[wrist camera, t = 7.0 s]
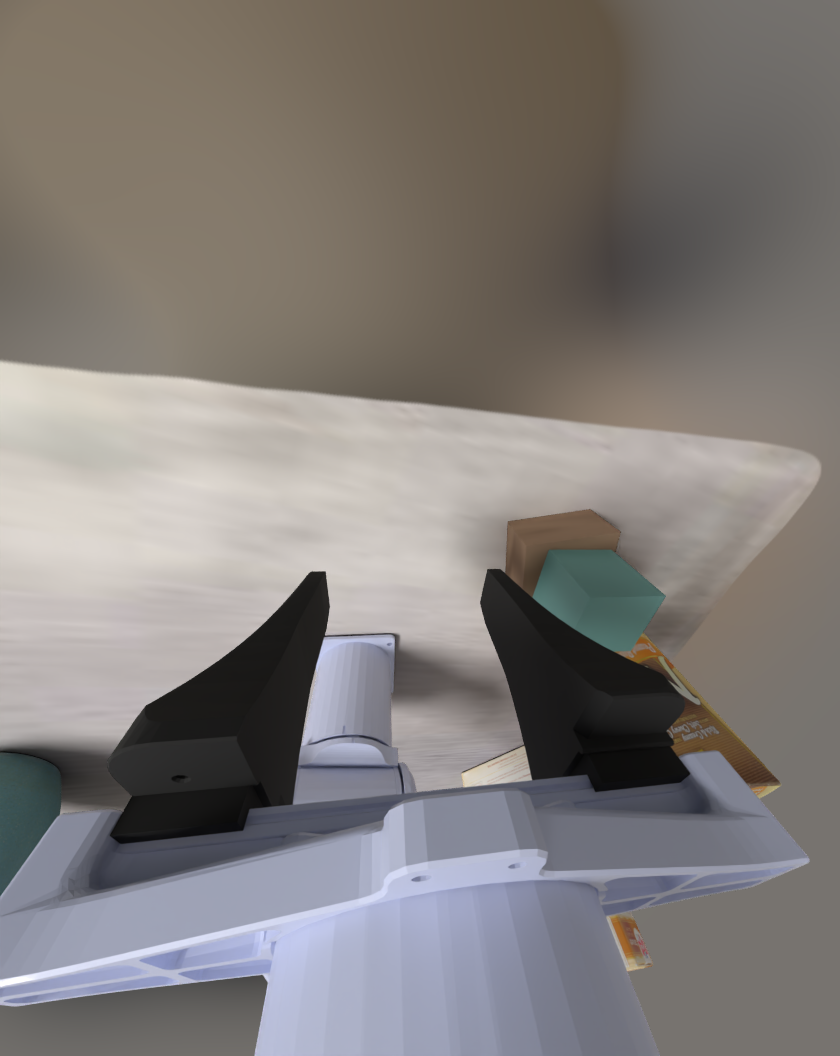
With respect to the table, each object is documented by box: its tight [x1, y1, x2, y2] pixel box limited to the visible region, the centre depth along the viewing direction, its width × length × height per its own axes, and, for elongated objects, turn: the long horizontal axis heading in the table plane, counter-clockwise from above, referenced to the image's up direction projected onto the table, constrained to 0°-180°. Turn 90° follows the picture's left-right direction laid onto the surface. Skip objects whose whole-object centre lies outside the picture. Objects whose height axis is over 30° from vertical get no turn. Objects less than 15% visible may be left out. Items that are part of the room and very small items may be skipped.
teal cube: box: [532, 550, 666, 652], centre depth 21 cm, size 5×5×5 cm
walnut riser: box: [505, 509, 621, 597], centre depth 25 cm, size 7×7×4 cm
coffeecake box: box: [461, 746, 653, 972], centre depth 39 cm, size 15×7×20 cm, turn 127°
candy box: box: [616, 633, 781, 798], centre depth 24 cm, size 9×4×15 cm, turn 81°
